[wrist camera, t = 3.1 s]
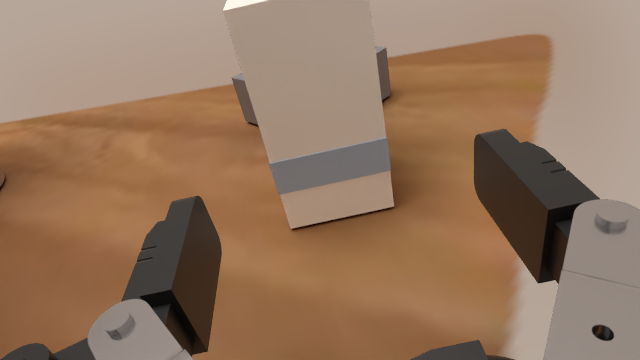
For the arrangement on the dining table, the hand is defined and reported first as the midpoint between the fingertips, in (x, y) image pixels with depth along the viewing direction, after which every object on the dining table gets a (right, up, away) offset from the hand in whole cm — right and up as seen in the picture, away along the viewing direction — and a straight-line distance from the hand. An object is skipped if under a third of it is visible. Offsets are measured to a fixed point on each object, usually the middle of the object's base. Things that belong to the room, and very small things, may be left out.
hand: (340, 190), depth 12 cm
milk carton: (0, 0, +14) cm, 14 cm away
